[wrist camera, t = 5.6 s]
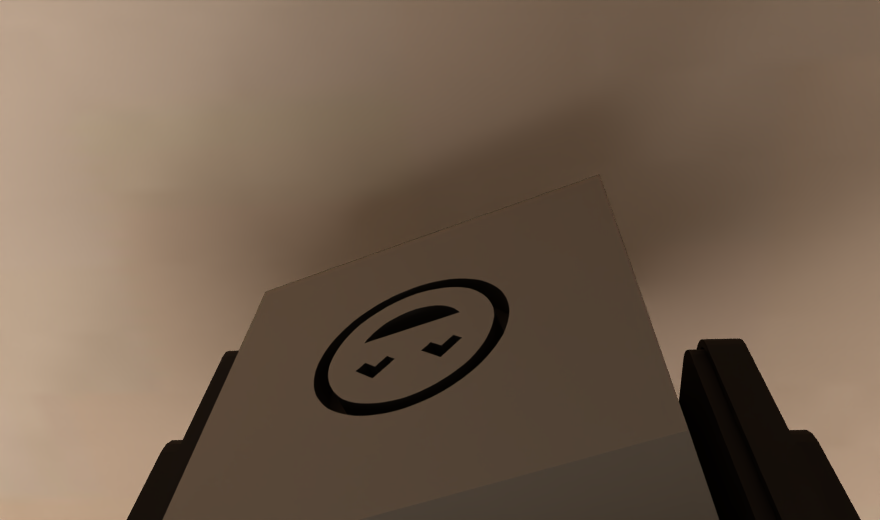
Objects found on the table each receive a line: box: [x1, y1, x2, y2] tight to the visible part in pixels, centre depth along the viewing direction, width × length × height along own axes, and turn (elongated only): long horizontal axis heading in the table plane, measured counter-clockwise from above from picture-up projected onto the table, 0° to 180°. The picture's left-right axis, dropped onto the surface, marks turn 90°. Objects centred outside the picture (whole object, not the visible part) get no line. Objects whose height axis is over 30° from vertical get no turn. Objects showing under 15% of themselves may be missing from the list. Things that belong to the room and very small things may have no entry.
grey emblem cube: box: [163, 175, 719, 520], centre depth 10 cm, size 5×5×5 cm
